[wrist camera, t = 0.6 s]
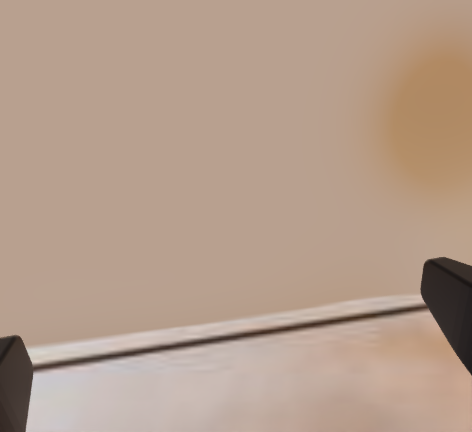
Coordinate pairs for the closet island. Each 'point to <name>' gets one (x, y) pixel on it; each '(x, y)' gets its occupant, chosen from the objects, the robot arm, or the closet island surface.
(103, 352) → the closet island surface
